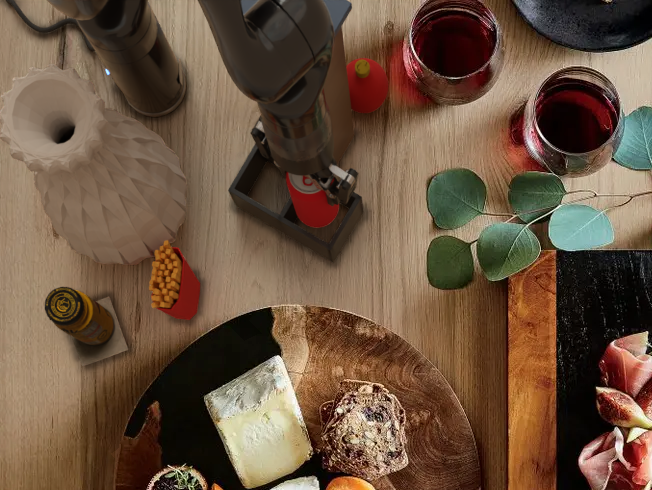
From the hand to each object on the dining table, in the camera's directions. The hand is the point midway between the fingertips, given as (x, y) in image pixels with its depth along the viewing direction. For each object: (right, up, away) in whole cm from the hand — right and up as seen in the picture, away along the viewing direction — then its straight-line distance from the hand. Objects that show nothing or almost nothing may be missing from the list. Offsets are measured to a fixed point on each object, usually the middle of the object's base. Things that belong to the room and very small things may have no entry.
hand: (312, 185), depth 108 cm
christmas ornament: (+7, +18, +14) cm, 24 cm away
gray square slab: (-1, +12, -16) cm, 20 cm away
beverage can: (0, 0, +8) cm, 8 cm away
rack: (-3, +2, +14) cm, 14 cm away
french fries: (-20, -11, +14) cm, 27 cm away
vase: (-28, +1, +14) cm, 31 cm away
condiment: (-33, -16, +14) cm, 40 cm away
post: (-1, +12, +14) cm, 18 cm away
